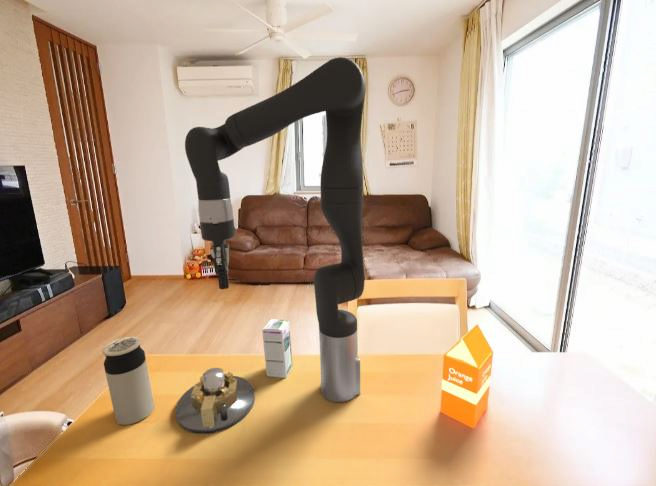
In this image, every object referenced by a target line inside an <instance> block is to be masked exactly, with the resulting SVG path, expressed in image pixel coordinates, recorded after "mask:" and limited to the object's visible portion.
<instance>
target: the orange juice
mask: <svg viewBox="0 0 656 486" xmlns="http://www.w3.org/2000/svg"><path fill="white" fill-rule="evenodd" d="M493 358H494V350H493V349H492V347H491V346H490V344H489V342H488V340H487V339H486V336H485V335H484V332H482V329H481V328H480V326H479V324H478V323H476V325H475V326H473V327H472V328H471V329H470V330H469V331H468V332H466V333H465V334H464V335H463V336H462V337H461V338H460V339H458V341H456V343H454V345H452V347H451V348H450V349H449V350H448V351H447V352H446V353H445V354H444V355H443V364H442V379H441V397H440V413H442V414H444V415H446V416H448V417H450V418H452V419H454V420H456V421H458V422H460V423H463V424H464V425H466V426H468V427H469V428H471V429H474V428H475V427H476V426H477V424H478V422H479V420H480V419H481V418H482V416H483V415H484V412H485V411H487V408H488V405H489V395H490V387H491V386H490V385H491V377H492V368H493V367H492V366H493Z"/></svg>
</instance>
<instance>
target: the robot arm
mask: <svg viewBox="0 0 656 486" xmlns="http://www.w3.org/2000/svg"><path fill="white" fill-rule="evenodd" d="M363 74H364V73H363V72H362V69H361V68H360V67H359V65H358V64H357V63H356V62H355V61H353V60H352V59H351V58H349V57H344V56H342V57H341V56H339V57H333V58H332V59H329V60H328V61H327V62H325V63H323V64H321V66H319V67H317V68H316V69H315V70H313V71H312V72H310V73H309V74H308V75H306V76H305V77H303V78H301V79H300V80H299V81H297V82H295V83H293V84H292V85H291V86H289V87H287V88H285V89H283V90H282V91H280V92H277V93H276V94H274V95H272V96H270V97H268V98H266V99H263V100H261V101H259V102H256V103H254V104H253V105H251V106H248V107H246V108H244V109H241V110H239V111H237V112H235V113H233V114H231V115H230V116H228V117H227V118H226V120H225V122H224V123H223V124H221V125H220V126H217V127H214V128H210V127H205V126H196V127H192V128H191V129H190V130H189V131H188V132H187V134H186V135H185V136H186V137H185V140H184V148H185V149H184V150H185V151H184V152H185V155H186V158H187V161H188V164H189V166H190V169H191V171H192V174H193V177H194V179H195V182H196V192H197V199H198V200H197V202H198V204H197V207H198V208H197V211H198V217H199V227H200V228H199V229H200V235H201V239H202V240H203V241H206V242H212V244H211V247H210V254H211V257H212V260H211V261H212V263H213V268H214V272H215V275H216V276H217V280H218V288H219V290H228V289H229V286H230V283H229V282H230V281H229V265H230V264H229V262H230V255H229V254H230V253H229V250H230V246H229V243H226V240H227V241H228V240H231V239H233V238H234V237H235V236H236V233H235V221H234V219H235V218H234V210H233V203H232V201H231V191H230V181H229V178H228V176H227V174H226V173H224V172H222V170H221V168H220V165H219V161H222V160H224V159H227V158H230V157H231V156H233V155H235V154H236V153H238V152H240V151H241V150H243V149H244V148H246V147H249V146H252V145H255V144H256V143H257V144H258V143H259V142H262V141H264V140H265V139H266V140H267V139H268V138H271V137H272V136H274V135H276V134H278V133H279V132H281V131H283V130H284V129H286V128H287V127H290V125H293V124H294V123H296V122H297V121H299V120H303V119H304V118H306V117H307V118H308V117H309V116H313V115H315V114H318V113H323V112H325V117H326V118H325V119H326V121H325V122H326V145H325V150H324V155H323V160H322V165H321V166H322V167H321V173H320V174H321V175H320V184H319V185H320V208H321V212H322V214H323V216H324V218H325V220H326V222H327V223H328V224H329V226H330V227H331V229H332V230H333V232H334V234H335V235H336V237H337V239H338V241H339V246H340V252H341V253H340V254H341V260H340V262H339V263H333V264H330V265H329V264H328V265H324V266H320V267H319V268H317V269H316V271H315V272H314V276H313V277H314V278H313V288H314V297H315V308H316V311H315V312H316V317H317V321H318V335H319V361H320V389H321V394H322V396H323V397H324V398H325V399H326V400H329V401H330V402H333V403H334V402H335V403H343V402H344V403H345V402H348V401H350V400H353V399H354V398H355V397H356V396H358V395H361V360H360V358H359V356H358V318H357V317H356V315H355V314H353V313H352V312H350V311H348V310H344V309H339V305H341V304H345V303H349V302H352V301H355V300H358V299H359V298H361V297H362V295H363V293H364V289H365V280H366V279H365V265H364V263H365V262H364V251H363V203H364V167H363V166H364V165H363V152H362V140H361V139H362V138H361V137H362V136H361V135H362V124H363V114H364V106H365V98H366V91H367V85H366V79H365V77H364V75H363Z"/></svg>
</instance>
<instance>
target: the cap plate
mask: <svg viewBox="0 0 656 486" xmlns="http://www.w3.org/2000/svg"><path fill="white" fill-rule="evenodd" d="M224 374H225V373H224V370H223V369H222V368H221V367H212V368H209V369H207V370H205V372H203V374H202V376H203V382H204V389H205V395H204V397H205V396H212V395H216V396H219V395H221V390H222V389H223V388H225V382H224ZM233 378H235V379H237V382H238V395H237V402H235V403H234V404H232V405H231V406H230V407H228V408H227V407H226V403H222V404H220V412H219V413H218V414H217V419H216V423H215V426H212V427H204V428H203V422H202V415H201V413H200V412H199V411H197V410H196V409H194V408H193V407H192V400H191V394H192V392H193V389H194V386H195V385H193V386H191V387H190V388H189V389H187V390H186V391H185V392H184V393H183V394H182V396H180V398H179V400H178V401H177V403H176V407H175V417H176V421H177V423H178V425H179V426H180V428H181V429H183V430H184V431H186V432H189V433H192V434H196V435H198V434H199V435H207V434H209V435H210V434H214V433H218V432H222V431H224V430H226V429H229V428H232V427H234V426H235V425H237V424H238V423H240V422H241V421H242V420H244V419H245V418H246V417H247V416H248V415H249V413H250V412H251V410H252V408H253V407H254V404H255V402H256V396H255V389H254V386H253V385H252V383H251V382H250V381H249V380H248V379H245V378H244V377H241V376H236V375H233Z"/></svg>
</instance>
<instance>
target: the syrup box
mask: <svg viewBox="0 0 656 486" xmlns="http://www.w3.org/2000/svg"><path fill="white" fill-rule="evenodd" d="M264 325H265V326H264V327H263V328H262V330H261V331H262V340H263V350H264V360H265V361H264V362H265V370H266V373H265V374H266V377H272V378H280V379H286V378H287V377H288V375H289V374H290V372H291V369H292V367H293V355H292V353H293V352H292V342H291V331H290V329H291V328H290V321H289V320H288V319H280V318H278V319H277V318H275V319H272V318H271V319H269V321H268V322H267V323H266V324H264Z"/></svg>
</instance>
